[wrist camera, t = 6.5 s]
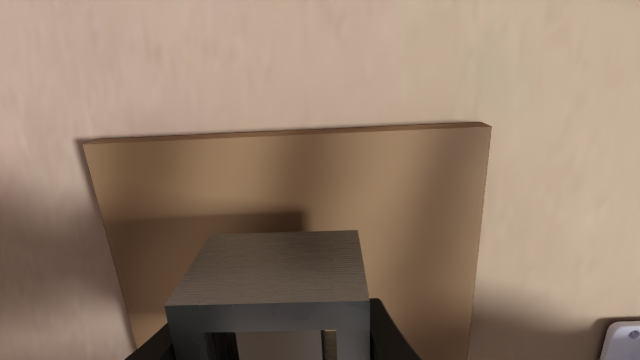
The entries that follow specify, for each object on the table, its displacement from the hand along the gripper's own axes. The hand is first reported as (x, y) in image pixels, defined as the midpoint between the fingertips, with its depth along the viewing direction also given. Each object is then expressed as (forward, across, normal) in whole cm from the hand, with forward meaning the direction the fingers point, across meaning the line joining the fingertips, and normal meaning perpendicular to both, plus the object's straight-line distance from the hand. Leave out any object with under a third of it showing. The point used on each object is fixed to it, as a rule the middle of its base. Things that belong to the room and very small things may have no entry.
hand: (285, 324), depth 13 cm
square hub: (+2, 0, 0) cm, 2 cm away
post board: (+4, 0, 0) cm, 4 cm away
